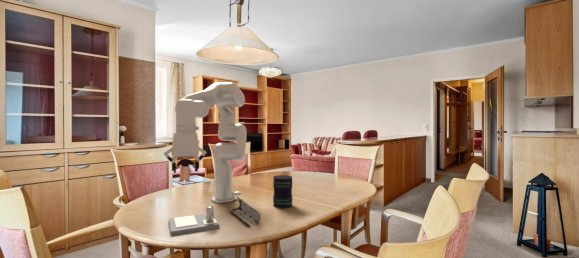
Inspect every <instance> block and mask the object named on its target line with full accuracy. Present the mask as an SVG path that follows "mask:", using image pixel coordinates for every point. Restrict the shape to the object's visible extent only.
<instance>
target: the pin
mask: <svg viewBox="0 0 579 258" xmlns="http://www.w3.org/2000/svg"><path fill="white" fill-rule="evenodd" d="M214 208H215V207H214V206H213V205H208V206H205V214H206V222H207V223H211V222H214V217H215V216H214V214H215V213H214V212H215V211H214V210H215V209H214Z"/></svg>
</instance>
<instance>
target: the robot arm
mask: <svg viewBox="0 0 579 258" xmlns="http://www.w3.org/2000/svg"><path fill="white" fill-rule="evenodd" d="M245 103H246V98H245V94H244V93H243V91H242V90H241V89H240V87H239V86H238V85H237V84H236V83H234V82H231V81H230V82H227V81H226V82H225V81H224V82H214V83H212V84H211V85H209V86H208V87H206V88H204V90H202V91H198V92H195V93H191V94H188V95H186V96H183V97H182V98H181V99H177V100H176V102H175V107H174V112H175V132H173V134H172V135H173V137H172V146H171V147H170V148H169V149H168V150H166V151H164V152H163V155H164V156H165V158H166V159H167V161H169V162H170V163H171V171H173V174H177V169H176V166H177V162H176V161H177V159H178V158H182V157H188V158H189V157H191V158H192V157H193V158H194V159H195V161H194V165H195V168H194V171H195V172H198V171H199V169H200V161H201V160H202V159H203V158H204V157H205V155H206V154H207V151H206V150H204V149H203V148H201V147H200V145H199V137H198V133H197V132H196V131H199V130H200V127H199V126H196V119H201V118H205V117H207V116H208V115H209V113H210V108H211V107H214V106H216V108H217V110H218V113H219V121H218V129H217V137H218V139H219V140H221V141H226V142H218V143H215V144H214V146H213V147H212V157H213V161H214V163H213V164H214V196H213V197H212V198H211V201H212V202H213V203H217V204H221V203H223V204H224V203H225V204H226V203H229V202H231V203H232V202H234V201H235V200H236V197H237V196H241V195H242V192H241V191H234V190H233V166H232V164H231V162H230V161H241V160H244V158H245V155H246V145H247V136H248V135H247V133H248V132H247V128H246V126H245V125H244V124H243V123H236V122H235V121H236V115H235V113H234V112H233V110H232V109H231V108H242V107H243V106H244V105H245ZM227 141H228V142H227ZM229 141H230V142H229ZM199 152H200V153H201V154H200V155H199ZM170 153H171V154H172V156H173V157H171V156H170V155H169V154H170Z"/></svg>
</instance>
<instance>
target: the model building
mask: <svg viewBox="0 0 579 258" xmlns="http://www.w3.org/2000/svg"><path fill="white" fill-rule="evenodd" d="M236 198H237V199H238V204H239V206H238V207H237V208H230V207H229V206H228V207H227V209H229V211H231V212H232V213H233V214H234V215H236V216H237V217H238V218H239V219H240V220H242V221H243V222H244V223H245V224H247V226H249V227H251V225H250V224H249V223H248V222H247V221H246V220H244V219H243V218H242V217H241V216H244V217H245V218H246V219H247V220H249V221H250V222H252V223H253V224H255V225H257V224H258V223H259V222H260V220H261V214H260V212H259V211H257V209H255V207H252V206H251V205H249V204H248V203H247V202H245V201H244V200H243V199H241V198H240V197H239V196H236ZM234 211H235V212H234ZM237 213H239V214H241V216H239V215H238V214H237Z"/></svg>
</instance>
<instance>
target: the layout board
mask: <svg viewBox="0 0 579 258" xmlns="http://www.w3.org/2000/svg"><path fill="white" fill-rule="evenodd" d="M168 224H169V225H168V226H169V232H170V236H176V235H177V234H178V235H183V234H189V233H197V232H202V231H208V230H214V229H219V228H220V223H219V221H218V220H217V218H216V217H215V216H214V222H211V223H207V222H206V213H202V214H194V215H187V216H186V215H185V216H180V217H178V216H177V217H170V218H168ZM196 231H197V232H196ZM178 235H177V236H178Z"/></svg>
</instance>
